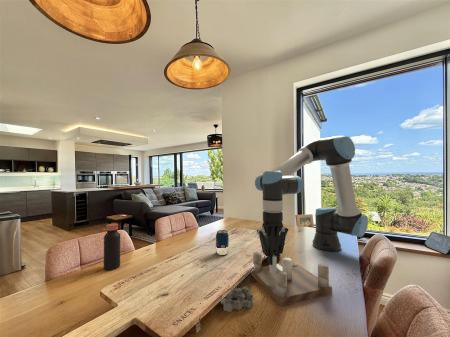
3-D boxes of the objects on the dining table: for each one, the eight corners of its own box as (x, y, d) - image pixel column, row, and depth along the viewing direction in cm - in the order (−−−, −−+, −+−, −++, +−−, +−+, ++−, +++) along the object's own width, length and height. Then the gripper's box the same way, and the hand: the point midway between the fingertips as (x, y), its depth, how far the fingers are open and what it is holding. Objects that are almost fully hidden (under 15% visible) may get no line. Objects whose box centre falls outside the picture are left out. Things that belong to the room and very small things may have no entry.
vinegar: (100, 270, 92) (100, 226, 93) (109, 264, 99) (109, 222, 100) (115, 270, 92) (115, 226, 93) (123, 264, 99) (123, 222, 99)
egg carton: (223, 314, 64) (223, 301, 64) (219, 299, 72) (219, 288, 72) (255, 308, 67) (255, 296, 67) (247, 295, 74) (247, 283, 74)
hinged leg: (268, 265, 91) (268, 249, 91) (275, 264, 92) (275, 248, 92) (286, 280, 78) (286, 262, 78) (294, 278, 79) (294, 260, 79)
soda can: (215, 251, 115) (215, 229, 115) (227, 250, 115) (227, 229, 116) (216, 256, 108) (216, 233, 108) (229, 255, 108) (229, 233, 109)
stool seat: (294, 266, 96) (294, 246, 96) (333, 293, 75) (333, 267, 75) (250, 273, 89) (250, 252, 89) (279, 306, 68) (279, 277, 68)
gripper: (281, 208, 84) (281, 265, 84) (252, 210, 80) (253, 270, 80) (292, 211, 77) (293, 274, 77) (262, 213, 73) (262, 280, 73)
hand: (273, 272), depth 78 cm, fingers closed
